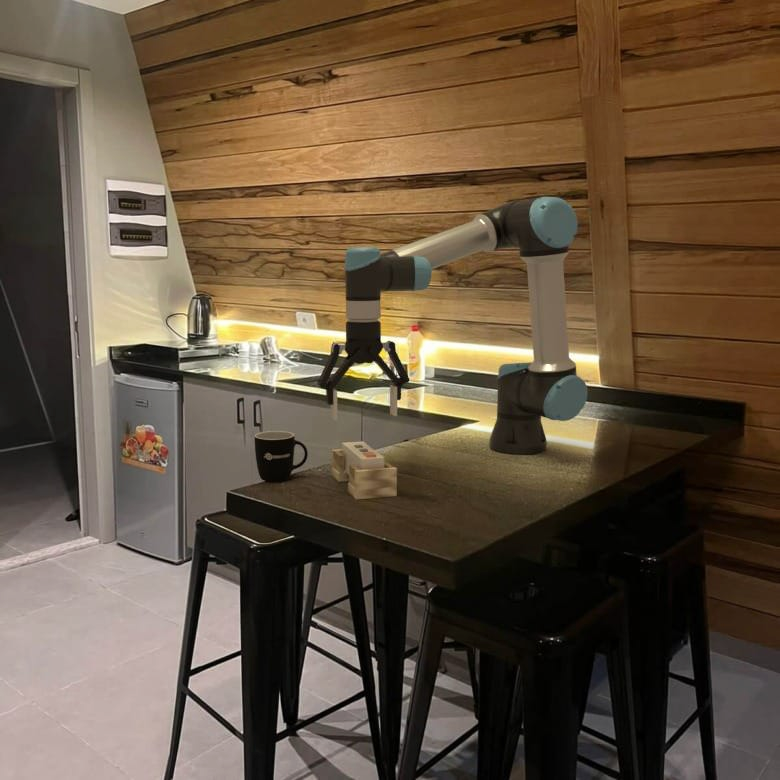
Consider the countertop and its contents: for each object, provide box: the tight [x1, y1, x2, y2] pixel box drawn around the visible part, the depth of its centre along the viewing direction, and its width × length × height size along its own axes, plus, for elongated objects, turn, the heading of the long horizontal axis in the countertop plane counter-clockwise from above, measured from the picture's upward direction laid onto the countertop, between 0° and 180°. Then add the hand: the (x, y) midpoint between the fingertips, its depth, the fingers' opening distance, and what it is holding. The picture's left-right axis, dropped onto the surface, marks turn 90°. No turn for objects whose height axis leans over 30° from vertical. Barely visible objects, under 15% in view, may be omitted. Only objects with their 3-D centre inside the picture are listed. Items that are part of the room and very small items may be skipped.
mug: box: [254, 430, 309, 483], centre depth 181 cm, size 12×9×10 cm
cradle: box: [331, 448, 398, 501], centre depth 176 cm, size 9×20×6 cm, turn 19°
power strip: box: [341, 440, 385, 474], centre depth 176 cm, size 5×16×6 cm, turn 18°
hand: (364, 417), depth 175 cm, fingers open, 13 cm apart
